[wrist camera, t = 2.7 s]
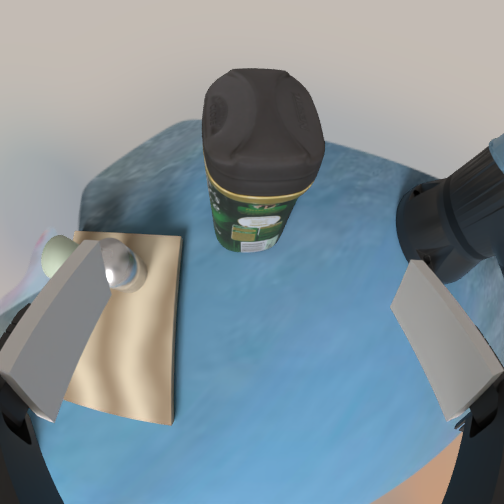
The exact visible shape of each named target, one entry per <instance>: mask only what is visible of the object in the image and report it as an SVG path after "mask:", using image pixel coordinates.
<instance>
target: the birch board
mask: <svg viewBox="0 0 504 504" xmlns="http://www.w3.org/2000/svg"><path fill="white" fill-rule="evenodd" d="M104 238H115V239H118V240H119V241H121V242H122V243H123V244H125V245H126V246H127V247H128V248H130V249H131V250H132V251H133V252H135V253H136V254H137V255H138V256H140V257H141V258H142V259H143V260H144V262H145V264H146V266H147V279H146V281H145V283H144V285H143V286H142V287H141V288H140V289H139V290H138V291H136V292H133V293H124V292H121V291H118V290H115V289H111V288H110V290H111V294H112V295H111V297H110V299H109V300H108V302H107V304H106V306H105V308H104V310H103V312H102V314H101V316H100V318H99V320H98V322H97V324H96V326H95V328H94V330H93V332H92V334H91V336H90V338H89V340H88V342H87V344H86V346H85V348H84V351H83V353H82V355H81V357H80V360H79V362H78V364H77V366H76V369H75V371H74V373H73V376H72V378H71V381H70V383H69V386H68V388H67V391H66V393H65V396H64V400H66V401H69V402H72V403H75V404H78V405H81V406H85V407H88V408H91V409H95V410H98V411H102V412H106V413H110V414H114V415H118V416H122V417H127V418H131V419H136V420H141V421H146V422H152V423H158V424H164V425H171V426H172V424H173V422H174V354H175V330H176V313H177V299H178V286H179V274H180V264H181V254H182V245H183V239H182V237H181V236H167V235H148V234H129V233H110V232H88V231H75V233H74V238H73V241H74V242H76V243H77V244H79V245H80V244H81V243H82V242H83V241H84V240H98V241H100V240H102V239H104Z"/></svg>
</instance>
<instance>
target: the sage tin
mask: <svg viewBox="0 0 504 504" xmlns="http://www.w3.org/2000/svg"><path fill="white" fill-rule="evenodd" d="M78 246H79V244H77V243H76V242H74V241H72V240H71V239H69V238H67V237H65V236H63V235H57V236H54V237H53V238H51V239H50V240H49V241H48V242H47V244H46V245H45V247H44V249H43V252H42V258H41V263H42V268H43V271H44V273H45V274H46V275H47V276H48V277H49V278H52V276H53V275H54V274H55V273H56V271H57V270H58V269H59V268H60V267H61V265H62V264H63V263H64V262H65V261H66V260H67V258H68V257H69V256H70V255H71V254H72V253H73V252H74V250H75V249H76V248H77V247H78Z"/></svg>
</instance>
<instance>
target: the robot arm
mask: <svg viewBox="0 0 504 504" xmlns="http://www.w3.org/2000/svg"><path fill="white" fill-rule="evenodd" d="M396 226H397V234H398V239H399V242H400V246H401V248H402V251H403V253H404V255H405V257H406V259H407V261H408V263H409V265H408V267H407V270H406V272H405V275H404V277H403V279H402V282H401V284H400V286H399V289H398V291H397V293H396V295H395V297H394V300H393V302H392V304H391V306H390V308H391V310H392V312H393V313H394V315H395V317H396V319H397V320H398V322H399V324H400V326H401V328H402V329H403V331H404V333H405V335H406V337H407V339H408V341H409V342H410V344H411V346H412V348H413V350H414V352H415V354H416V356H417V358H418V360H419V362H420V364H421V366H422V368H423V370H424V372H425V374H426V376H427V378H428V380H429V382H430V385H431V387H432V389H433V391H434V393H435V396H436V398H437V400H438V402H439V405H440V407H441V409H442V412H443V414H444V416H445V419H446V421H449V420H452V419H454V418H456V417H458V416H460V415H461V414H462V413H463V412H464V411H466V410H467V409H468V408H470V410H471V411H470V412H469V413H468V414H467V415H466V416H465V417H464V418H463V419H461V420H460V421H459V422H458V423H457V424H456V426H455V428H454V429H457V428H458V427H460V426H461V425H462V424H463V423H465V424H464V425H463V426H462V427H461V428H460V429H459V431H462V432H463V436H462V440H461V444H460V449H459V453H458V457H457V460H456V464H455V467H454V470H453V474H452V477H451V480H450V483H449V486H448V488H447V492H446V494H445V497H444V499H443V502H442V504H504V367H503V365H502V364H501V362H500V361H499V359H498V357H497V356H496V354H495V353H494V351H493V349H492V348H491V346H489V345H488V344H489V343H488V342H487V340H486V339H485V338H484V336H483V334H482V333H481V332H480V330H479V329H478V327H477V326H476V325H474V323H473V322H472V321H471V319H470V318H469V317H468V315H467V314H466V312H465V311H464V310H463V308H462V307H461V306H460V305H459V303H458V302H457V301H456V299H455V298H454V297H453V296H452V294H451V293H450V292H449V291H448V289H447V288H446V287H445V286H444V284H448V283H452V282H455V281H457V280H459V279H461V278H462V277H463V276H464V275H466V274H467V273H468V272H469V271H470V270H471V269H472V268H474V267H475V266H476V265H477V264H478V263H479V262H480V261H481V260H483V259H486V258H489V257H492V256H496V258H497V261H498V263H499V266H500V268H501V271H502V274H503V277H504V134H502V135H501V136H500V137H498V138H495V139H493V140H492V141H490V143H489V146H488V147H487V148H485V149H484V150H483V151H482V152H480V153H479V154H478V155H477V156H475V157H474V158H473V159H471V160H470V161H469V162H467V163H466V164H465V165H463V166H462V167H461V168H460V169H458V170H457V171H456V172H454V173H453V174H452V175H450V176H449V177H448V178H445V179H440V180H435V181H431V182H426V183H422V184H419V185H417V186H415V187H414V188H413V189H411V190H410V191H409V192H408V193H406V194H405V195H404V197H403V198H402V200H401V201H400V204H399V206H398V210H397V217H396ZM111 295H112V294H111V290H110V287H109V283H108V279H107V274H106V270H105V266H104V261H103V256H102V252H101V247H100V241H98V240H84V241H83V242H82V243H81V244H80V245H79V246H78V247H77V248H76V249H75V250H74V252H73V253H72V254H71V255H70V256H69V257H68V258H67V260H66V261H65V262H64V263H63V264H62V265H61V267H60V268H59V269H58V270H57V271H56V273H55V274H54V275H53V276H52V278H51V279H50V280H49V281H48V283H47V284H46V285H45V286H44V288H43V289H42V290H41V292H40V293H39V294H38V296H37V297H36V298H35V300H34V301H33V302H32V304H30V303H29V304H27V305H26V306H25V307H24V308H22V309H21V310H20V311H19V312H18V313H17V315H16V316H15V317H14V319H13V320H12V324H10V325H9V326H8V328H7V329H6V333H5V332H4V334H3V335H2V337H1V338H0V504H64V502H63V501H62V499H61V497H60V495H59V493H58V491H57V489H56V486H55V484H54V482H53V480H52V478H51V475H50V473H49V471H48V468H47V466H46V463H45V461H44V458H43V456H42V453H41V450H40V447H39V445H38V442H37V439H36V435H35V432H34V429H33V426H32V422H31V419H30V417H29V415H28V414H27V411H28V408H30V409H31V410H32V411H33V412H34V413H35V414H36V415H37V416H39V417H41V418H43V419H46V420H48V421H50V422H53V423H55V420H56V418H57V415H58V412H59V409H60V406H61V404H62V401H63V398H64V396H65V393H66V391H67V388H68V386H69V383H70V381H71V378H72V376H73V373H74V371H75V369H76V366H77V364H78V362H79V360H80V357H81V355H82V353H83V351H84V348H85V346H86V344H87V342H88V340H89V338H90V336H91V334H92V332H93V330H94V328H95V326H96V324H97V322H98V320H99V318H100V316H101V314H102V312H103V310H104V308H105V306H106V304H107V302H108V300H109V299H110V297H111Z"/></svg>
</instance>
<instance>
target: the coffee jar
mask: <svg viewBox="0 0 504 504" xmlns="http://www.w3.org/2000/svg"><path fill="white" fill-rule="evenodd" d="M202 138H203V154H204V162H205V170H206V177H207V185H208V190H209V196H210V202H211V209H212V216H213V222H214V228H215V234H216V237H217V239H218V241H219V242H220V244H221V245H222V246H223V247H225V248H226V249H228V250H230V251H235V252H258V251H263V250H266V249H269V248H271V247H272V246H274V245H275V244H276V243H277V241H278V239H279V238H280V236H281V234H282V232H283V229H284V227H285V225H286V222H287V220H288V218H289V216H290V213H291V211H292V209H293V207H294V205H295V203H296V201H297V199H298V197H299V196H301V195H302V194H303V193H305V192H306V191H307V190H308V189H309V187H310V186H311V185H312V183H313V182H314V180H315V178H316V176H317V173H318V171H319V168H320V166H321V163H322V160H323V157H324V152H325V141H324V137H323V132H322V128H321V124H320V120H319V117H318V113H317V111H316V108H315V105H314V103H313V100H312V98H311V96H310V94H309V92H308V91H307V90H306V88H305V87H304V86H303V85H302V84H301V83H300V82H299V81H297V80H296V79H295V78H294V77H292V76H290V75H289V73H288V72H286V71H282V70H275V69H257V68H247V69H232V70H230V71H229V72H228V73H226V74H224V75H223V76H221V77H220V78H219V79H217V80H216V81H215V82H214V83H213V84H212V85H211V86H210V88H209V89H208V91H207V93H206V95H205V100H204V107H203V116H202Z"/></svg>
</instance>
